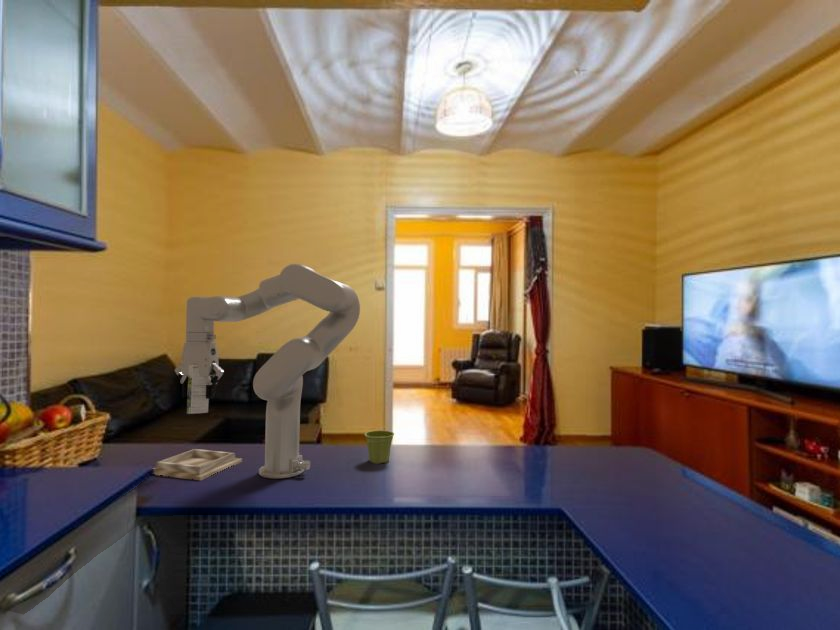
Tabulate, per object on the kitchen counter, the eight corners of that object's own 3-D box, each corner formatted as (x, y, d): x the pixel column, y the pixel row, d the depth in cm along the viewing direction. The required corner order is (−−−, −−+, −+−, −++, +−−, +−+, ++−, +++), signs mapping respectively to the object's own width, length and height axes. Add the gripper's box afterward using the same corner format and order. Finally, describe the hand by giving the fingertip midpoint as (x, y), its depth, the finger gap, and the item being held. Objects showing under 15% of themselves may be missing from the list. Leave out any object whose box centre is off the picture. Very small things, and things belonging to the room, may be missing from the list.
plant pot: (359, 463, 144) (359, 435, 144) (371, 455, 153) (371, 429, 153) (387, 466, 141) (387, 438, 141) (397, 458, 150) (398, 431, 150)
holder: (242, 461, 144) (242, 452, 144) (200, 480, 127) (200, 469, 127) (193, 456, 149) (193, 447, 149) (147, 473, 131) (147, 463, 131)
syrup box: (187, 410, 139) (188, 362, 140) (208, 409, 142) (209, 362, 142) (186, 414, 134) (187, 364, 134) (209, 412, 137) (210, 363, 137)
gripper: (233, 338, 140) (231, 397, 139) (185, 337, 144) (183, 394, 144) (216, 339, 133) (214, 400, 132) (166, 337, 137) (164, 397, 137)
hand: (198, 396), depth 138 cm, fingers closed on syrup box, 7 cm apart
